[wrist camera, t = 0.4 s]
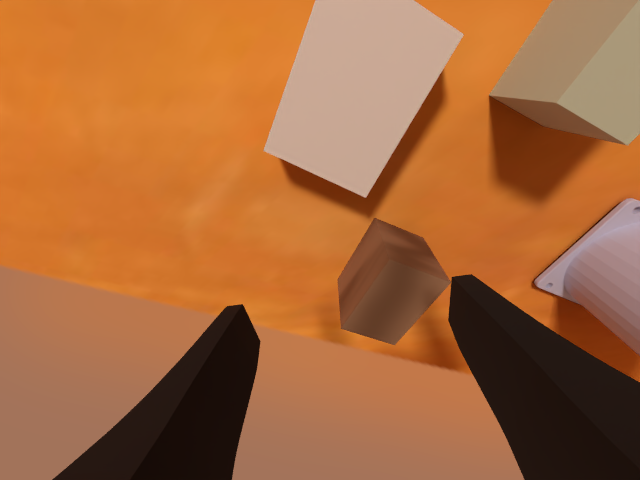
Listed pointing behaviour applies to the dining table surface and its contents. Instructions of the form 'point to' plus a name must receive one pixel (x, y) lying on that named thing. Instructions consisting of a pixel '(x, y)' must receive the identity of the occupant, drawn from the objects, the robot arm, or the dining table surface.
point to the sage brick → (580, 70)
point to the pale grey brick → (358, 87)
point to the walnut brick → (388, 283)
